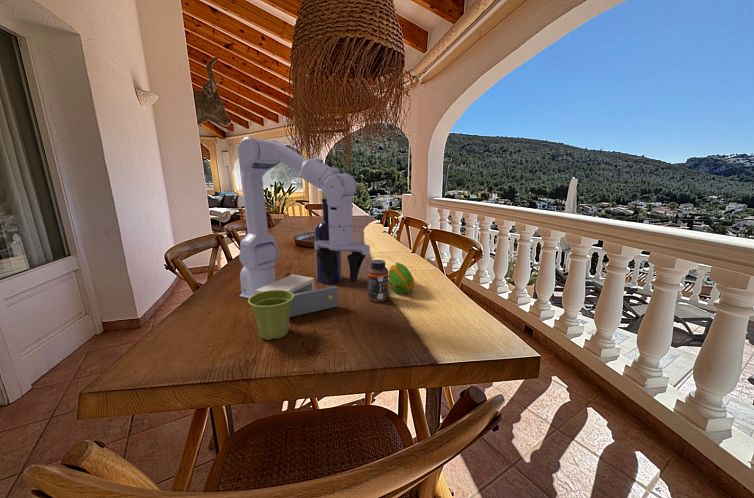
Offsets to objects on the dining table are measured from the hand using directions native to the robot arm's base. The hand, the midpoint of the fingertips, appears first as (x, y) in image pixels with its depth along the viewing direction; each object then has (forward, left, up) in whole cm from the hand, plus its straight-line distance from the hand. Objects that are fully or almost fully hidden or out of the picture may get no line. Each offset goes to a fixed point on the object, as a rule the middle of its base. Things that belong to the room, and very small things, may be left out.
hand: (342, 279), depth 73 cm
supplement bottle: (+4, +13, -10) cm, 17 cm away
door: (-8, -3, -9) cm, 12 cm away
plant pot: (-9, -15, -10) cm, 20 cm away
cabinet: (-17, -1, -9) cm, 19 cm away
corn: (+6, +25, -10) cm, 27 cm away
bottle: (-18, +21, -10) cm, 29 cm away
